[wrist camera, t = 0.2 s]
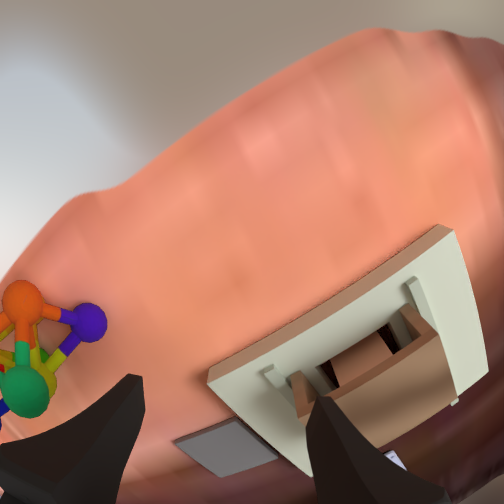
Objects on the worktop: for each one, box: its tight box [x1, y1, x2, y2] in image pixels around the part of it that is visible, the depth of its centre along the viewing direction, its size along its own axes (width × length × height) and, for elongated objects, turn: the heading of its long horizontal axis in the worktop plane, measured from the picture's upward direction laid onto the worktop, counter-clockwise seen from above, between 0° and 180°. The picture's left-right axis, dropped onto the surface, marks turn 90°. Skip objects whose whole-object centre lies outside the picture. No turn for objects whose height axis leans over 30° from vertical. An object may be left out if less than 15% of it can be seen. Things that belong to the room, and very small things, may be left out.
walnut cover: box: [290, 303, 458, 448], centre depth 18 cm, size 7×9×4 cm
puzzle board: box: [207, 224, 488, 477], centre depth 22 cm, size 16×20×3 cm
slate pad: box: [175, 416, 278, 478], centre depth 25 cm, size 7×7×1 cm
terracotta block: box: [330, 331, 393, 387], centre depth 20 cm, size 4×4×5 cm
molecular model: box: [0, 280, 107, 430], centre depth 16 cm, size 12×7×12 cm, turn 122°
